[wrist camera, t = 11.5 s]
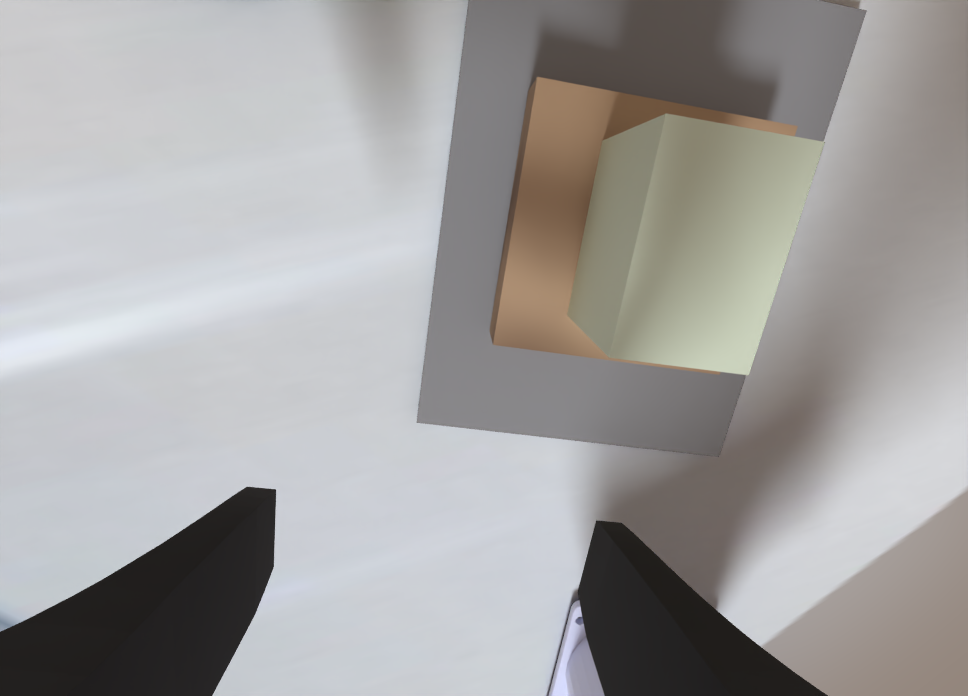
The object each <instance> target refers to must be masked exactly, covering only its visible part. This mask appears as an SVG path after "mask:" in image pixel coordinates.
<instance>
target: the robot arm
mask: <svg viewBox="0 0 968 696" xmlns="http://www.w3.org/2000/svg"><path fill="white" fill-rule="evenodd" d="M275 507H276V490H275V489H265V488H255V487H246V488H244V489H243V490H241V491H240V492H238V493H237V494H235V495H234V496H232V497H231V498H229V499H228V500H226V501H225V502H223V503H222V504H221V505H219V506H218V507H216V508H215V509H213V510H212V511H210V512H209V513H207V514H206V515H204V516H203V517H202V518H200V519H199V520H197V521H196V522H194V523H192V524H191V525H189V526H188V527H186V528H185V529H183V530H182V531H180V532H179V533H177V534H176V535H174V536H173V537H171V538H170V539H168V540H167V541H165V542H164V543H162V544H161V545H159V546H157V547H156V548H154V549H152V550H151V551H149V552H147V553H146V554H144V555H142V556H141V557H139V558H137V559H136V560H134V561H133V562H131V563H129V564H128V565H126V566H124V567H123V568H121V569H119V570H118V571H116V572H114V573H113V574H111V575H109V576H108V577H106V578H104V579H103V580H101V581H99V582H97V583H95V584H94V585H92V586H90V587H88V588H86V589H85V590H83V591H81V592H79V593H77V594H75V595H74V596H72V597H70V598H68V599H66V600H64V601H62V602H60V603H58V604H56V605H54V606H52V607H50V608H49V609H47V610H45V611H43V612H41V613H39V614H37V615H35V616H33V617H31V618H29V619H27V620H25V621H23V622H21V623H19V624H16V625H14V626H12V627H10V628H8V629H6V630H3V631H1V632H0V696H212V695H213V693H214V691H215V689H216V687H217V685H218V683H219V682H220V680H221V678H222V676H223V674H224V672H225V670H226V669H227V667H228V665H229V663H230V661H231V659H232V657H233V655H234V654H235V652H236V650H237V648H238V646H239V644H240V642H241V640H242V638H243V636H244V635H245V633H246V631H247V629H248V627H249V625H250V623H251V621H252V619H253V617H254V615H255V613H256V611H257V608H258V606H259V603H260V601H261V598H262V596H263V593H264V591H265V588H266V586H267V583H268V580H269V578H270V575H271V573H272V570H273V567H274V539H275ZM578 595H579V600H578V601H576V602H574V603H573V605H572V607H571V610H570V614H569V618H568V622H567V626H566V630H565V634H564V637H563V641H562V645H561V649H560V653H559V657H558V661H557V665H556V669H555V672H554V676H553V680H552V684H551V688H550V692H549V696H828V695H826V694H825V693H823V692H821V691H820V690H819V689H817V688H816V687H814V686H813V685H811V684H810V683H809V682H807V681H806V680H804V679H803V678H802V677H800V676H799V675H797V674H796V673H795V672H793V671H792V670H790V669H789V668H788V667H786V666H785V665H784V664H783V663H781V662H780V661H779V660H777V659H776V658H775V657H773V656H772V655H771V654H769V653H768V652H767V651H765V650H764V649H763V648H761V647H760V646H759V645H757V644H756V643H755V642H754V641H752V640H751V639H750V638H749V637H747V636H746V635H745V634H744V633H742V632H741V631H740V630H739V629H738V628H736V627H735V626H734V625H733V624H732V623H731V622H729V621H728V620H727V619H726V618H725V617H724V616H722V615H721V614H720V613H719V612H718V611H716V610H715V609H714V608H713V607H712V606H711V605H710V604H708V603H707V602H706V601H705V600H704V599H703V598H702V597H701V596H699V595H698V594H697V593H696V592H695V591H694V590H693V589H692V588H691V587H690V586H688V585H687V584H686V583H685V582H684V581H683V580H682V579H681V578H680V577H679V576H678V575H677V574H676V573H675V572H674V571H672V570H671V569H670V568H669V567H668V566H667V565H666V564H665V563H664V562H663V561H662V560H661V559H660V558H659V557H658V556H657V555H656V554H655V553H654V552H653V551H652V550H651V549H649V548H648V547H647V546H646V545H645V544H644V543H643V542H642V541H641V540H640V539H639V538H638V537H637V536H636V535H635V534H634V533H633V532H631V531H630V530H629V529H628V528H627V527H626V526H625V525H623V524H622V523H616V522H606V521H596V524H595V527H594V531H593V535H592V539H591V543H590V547H589V551H588V554H587V558H586V562H585V566H584V570H583V574H582V578H581V582H580V585H579V589H578ZM578 617H581V618H578Z"/></svg>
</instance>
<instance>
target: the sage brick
mask: <svg viewBox="0 0 968 696" xmlns="http://www.w3.org/2000/svg"><path fill="white" fill-rule="evenodd" d="M824 143H825V142H822V141H817V140H811V139H806V138H800V137H795V136H789V135H783V134H778V133H772V132H767V131H761V130H756V129H750V128H745V127H739V126H733V125H728V124H722V123H717V122H711V121H706V120H700V119H694V118H689V117H683V116H678V115H672V114H667V113H666V114H664V115H661V116H659V117H657V118H654V119H652V120H650V121H647V122H645V123H643V124H640V125H638V126H636V127H633V128H631V129H629V130H626V131H624V132H622V133H619V134H617V135H615V136H612V137H610V138H608V139H605V140H603V141H602V145H601V150H600V155H599V160H598V165H597V170H596V174H595V179H594V184H593V189H592V194H591V199H590V204H589V209H588V214H587V219H586V224H585V229H584V234H583V239H582V244H581V249H580V254H579V259H578V264H577V269H576V273H575V278H574V283H573V288H572V293H571V298H570V303H569V308H568V313H567V316H568V317H569V318H570V319H571V320H572V321H573V322H574V323H575V324H576V325H577V326H578V327H579V328H580V329H581V330H582V331H583V332H584V333H585V334H586V335H587V336H588V337H589V338H590V339H591V340H592V341H593V342H594V343H595V344H596V345H597V346H598V347H599V348H600V349H601V350H602V351H603V352H604V353H605V354H606V355H607V356H608V357H609V358H615V359H623V360H631V361H639V362H647V363H655V364H663V365H671V366H679V367H687V368H695V369H703V370H711V371H718V372H726V373H734V374H742V375H749V373H750V370H751V367H752V364H753V361H754V357H755V354H756V351H757V348H758V345H759V342H760V339H761V336H762V333H763V330H764V327H765V324H766V321H767V318H768V315H769V312H770V308H771V305H772V302H773V299H774V296H775V293H776V290H777V287H778V284H779V281H780V278H781V275H782V272H783V269H784V266H785V263H786V259H787V256H788V253H789V250H790V247H791V244H792V241H793V238H794V235H795V232H796V229H797V226H798V223H799V220H800V217H801V214H802V211H803V207H804V204H805V201H806V198H807V195H808V192H809V189H810V186H811V183H812V180H813V177H814V174H815V171H816V168H817V165H818V162H819V158H820V155H821V152H822V149H823V146H824Z"/></svg>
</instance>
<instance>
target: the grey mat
mask: <svg viewBox="0 0 968 696" xmlns="http://www.w3.org/2000/svg"><path fill="white" fill-rule="evenodd" d="M865 14H866V10H862V9H857V8H853V7H848V6H843V5H839V4H834V3H830V2H825V1H821V0H469V2H468V10H467V18H466V26H465V34H464V43H463V51H462V59H461V67H460V75H459V83H458V91H457V99H456V107H455V116H454V124H453V132H452V140H451V148H450V156H449V164H448V172H447V180H446V189H445V197H444V205H443V213H442V221H441V229H440V237H439V245H438V253H437V262H436V270H435V278H434V286H433V294H432V302H431V310H430V318H429V326H428V335H427V343H426V351H425V359H424V367H423V375H422V383H421V391H420V399H419V408H418V416H417V423H425V424H434V425H442V426H451V427H460V428H469V429H478V430H486V431H495V432H504V433H513V434H522V435H531V436H539V437H548V438H557V439H566V440H575V441H583V442H592V443H601V444H610V445H619V446H628V447H636V448H645V449H654V450H663V451H672V452H681V453H689V454H698V455H707V456H716V457H719V455H720V452H721V449H722V446H723V443H724V440H725V437H726V434H727V431H728V428H729V425H730V422H731V419H732V416H733V413H734V410H735V407H736V404H737V401H738V398H739V395H740V392H741V389H742V386H743V383H744V380H745V377H746V375H742V374H734V373H726V372H720V375H718V374H710V373H702V372H695V371H687V370H680V369H672V368H664V367H657V366H649V365H642V364H634V363H626V362H619V361H611V360H604V359H596V358H588V357H581V356H573V355H566V354H558V353H550V352H543V351H535V350H528V349H520V348H512V347H505V346H497V345H493V343H492V339H491V335H490V331H489V330H490V324H491V318H492V312H493V306H494V299H495V293H496V287H497V281H498V275H499V269H500V262H501V256H502V250H503V244H504V238H505V231H506V225H507V219H508V213H509V207H510V200H511V194H512V188H513V182H514V176H515V170H516V163H517V157H518V151H519V145H520V139H521V132H522V126H523V120H524V114H525V108H526V102H527V95H528V91H529V89H530V87H531V86H532V84H533V83H534V81H535V80H536V78H537V77H541V78H547V79H552V80H557V81H562V82H568V83H573V84H578V85H584V86H589V87H594V88H599V89H605V90H610V91H615V92H620V93H626V94H631V95H636V96H642V97H647V98H652V99H657V100H663V101H668V102H673V103H679V104H684V105H689V106H694V107H700V108H705V109H710V110H715V111H721V112H726V113H731V114H737V115H742V116H747V117H752V118H758V119H763V120H768V121H773V122H779V123H784V124H789V125H795V126H798V127H797V130H796V134H795V137H800V138H806V139H811V140H817V141H822V142H823V141H824V138H825V135H826V132H827V129H828V126H829V123H830V120H831V117H832V114H833V111H834V108H835V105H836V102H837V99H838V96H839V93H840V90H841V87H842V84H843V81H844V78H845V75H846V72H847V69H848V66H849V63H850V60H851V56H852V53H853V50H854V47H855V44H856V41H857V38H858V35H859V32H860V29H861V26H862V23H863V20H864V17H865Z"/></svg>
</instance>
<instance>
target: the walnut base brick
mask: <svg viewBox="0 0 968 696" xmlns="http://www.w3.org/2000/svg"><path fill="white" fill-rule="evenodd" d="M666 113H667V114H672V115H678V116H683V117H689V118H694V119H700V120H706V121H711V122H717V123H722V124H728V125H733V126H739V127H745V128H750V129H756V130H761V131H767V132H772V133H778V134H783V135H789V136H795V134H796V130H797V127H798V126H795V125H789V124H784V123H779V122H773V121H768V120H763V119H758V118H752V117H747V116H742V115H737V114H731V113H726V112H721V111H715V110H710V109H705V108H700V107H694V106H689V105H684V104H679V103H673V102H668V101H663V100H657V99H652V98H647V97H642V96H636V95H631V94H626V93H620V92H615V91H610V90H605V89H599V88H594V87H589V86H584V85H578V84H573V83H568V82H562V81H557V80H552V79H547V78H541V77H537V78H536V80H535V81H534V83H533V84H532V86H531V87H530V89H529V91H528V95H527V102H526V108H525V114H524V120H523V126H522V132H521V139H520V145H519V151H518V157H517V163H516V170H515V176H514V182H513V188H512V194H511V200H510V207H509V213H508V219H507V225H506V231H505V238H504V244H503V250H502V256H501V262H500V269H499V275H498V281H497V287H496V293H495V299H494V306H493V312H492V318H491V324H490V330H489V331H490V335H491V339H492V343H493V345H497V346H505V347H512V348H520V349H528V350H535V351H543V352H550V353H558V354H566V355H573V356H581V357H588V358H596V359H604V360H611V361H619V362H626V363H634V364H642V365H649V366H657V367H664V368H672V369H680V370H687V371H695V372H702V373H710V374H718V375H720V372H718V371H711V370H703V369H695V368H687V367H679V366H671V365H663V364H655V363H647V362H639V361H631V360H623V359H615V358H609V357H608V356H607V355H606V354H605V353H604V352H603V351H602V350H601V349H600V348H599V347H598V346H597V345H596V344H595V343H594V342H593V341H592V340H591V339H590V338H589V337H588V336H587V335H586V334H585V333H584V332H583V331H582V330H581V329H580V328H579V327H578V326H577V325H576V324H575V323H574V322H573V321H572V320H571V319H570V318H569V317H568V316H567V313H568V308H569V303H570V298H571V293H572V288H573V283H574V278H575V273H576V269H577V264H578V259H579V254H580V249H581V244H582V239H583V234H584V229H585V224H586V219H587V214H588V209H589V204H590V199H591V194H592V189H593V184H594V179H595V174H596V170H597V165H598V160H599V155H600V150H601V145H602V141H603V140H605V139H608V138H610V137H612V136H615V135H617V134H619V133H622V132H624V131H626V130H629V129H631V128H633V127H636V126H638V125H640V124H643V123H645V122H647V121H650V120H652V119H654V118H657V117H659V116H661V115H664V114H666Z"/></svg>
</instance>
